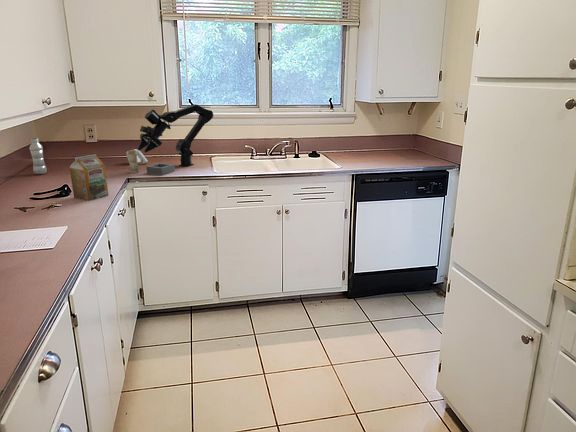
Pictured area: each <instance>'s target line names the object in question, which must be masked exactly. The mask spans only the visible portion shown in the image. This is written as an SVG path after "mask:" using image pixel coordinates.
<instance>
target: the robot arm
mask: <svg viewBox="0 0 576 432" xmlns="http://www.w3.org/2000/svg"><path fill="white" fill-rule="evenodd" d="M193 113H196V114H197V115H198V118H197V120H196V122H195V124H194V125H193V127H192V128H191V129H190V131H189V132H188V133H187V135H186V136H185V138H183V139H182V138H179V139H178V140H177V141H178V142H177V143H176V145H175V151H176V152H177V153H178V154H179V155H180V164H178V165H179V166H182V167H191V166H194V163H192V157H193V154H194V151H192V150H191V147H192V143H193V141H194V140H195V138H196V137H197V135H199V133H200V131H201V130H202V129H203V127H204V126H205V125H206V124H208V122H210V121H211V120H212V119H213V118H214V112H213V111H212V110H210V109H206V108H204V107H202V106H200V105H199V104H196V103H195V104H194V103H193V104H192V105H189V106H187V107H184V108H181V109H177V110H173V111H165V112H163V113H162V114H158V113H157V112H156V110H154V109H151V110H150V111H148V112H147V113H146V114H145V116H144V118H145V120H146V121H147V122H149V123H150V124H151V125H155V126H154V127H151V126H149V125H147V126H144V125H141V126H140V129H139V132H141V134H140V135H139V138H140V143H139V144H138V148H137V150H138V151H141V150H142V149H144V148H145V149H144V153H148V152H150V151H152V150H154V149H156V148H159V147H161V145H162V144H163V142H162V140H161V139H159V138H160V137H163V133H164V132H165V131H166V129H167V130H171V123H174V122H176V121H178V119H180V118H181V117H185V116H187V115H190V114H193ZM169 123H170V124H169ZM142 132H143V133H142Z"/></svg>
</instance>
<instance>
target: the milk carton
mask: <svg viewBox="0 0 576 432" xmlns="http://www.w3.org/2000/svg"><path fill="white" fill-rule="evenodd" d="M74 159H75V161H73V162H72V163H71V165H70V166H69V172H70V174H69V175H70V179H71V187H72V192H73V193H72V194H73V198H74V199H78V200H82V201H87V202H90V201H94V200H97V199H101V198H106V197H109V190H108V189H109V188H108V181H107V172H106V166H105V164H104V163H103V162H102V160H101V159H99V158H98V157H97V154H96V153H95V154H88V155H83V156H78V157H75V158H74Z"/></svg>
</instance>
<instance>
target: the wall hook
mask: <svg viewBox="0 0 576 432" xmlns="http://www.w3.org/2000/svg"><path fill="white" fill-rule="evenodd" d="M134 150H136V152H137V162H138V163H141V162H142V163H143V165H146V164H147V163H148V162H149V160H148V159H147V158H146V157H145V155H144V154H143V153H142V151H141V150H138V148H137V149H135V148H134ZM128 151H129V150H128ZM128 151H126V153H125V154H126V157H127V160H128V162H129V154H128Z"/></svg>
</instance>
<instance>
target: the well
mask: <svg viewBox="0 0 576 432" xmlns="http://www.w3.org/2000/svg"><path fill="white" fill-rule="evenodd" d="M175 167H176V166H175V164H172V163H164V162H163V163H162V162H161V163H160V162H157V163H154V164H150V165H147V166H146V174H147V173H148V175H157V176H158V175H159V176H164V175H165V176H166V175H169V174H170V173H175V172H176V169H175Z"/></svg>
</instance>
